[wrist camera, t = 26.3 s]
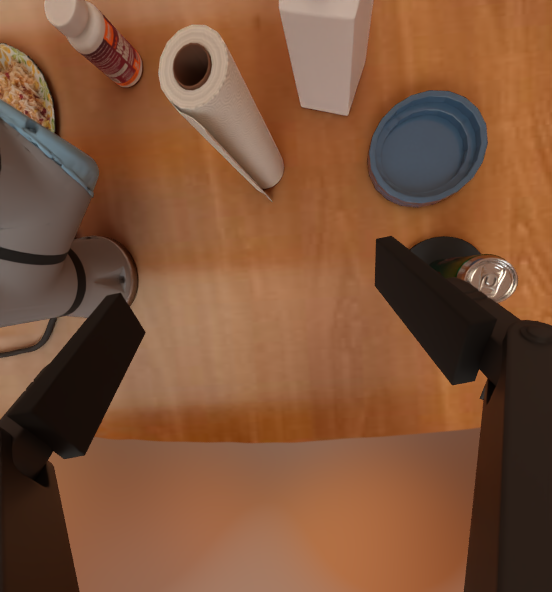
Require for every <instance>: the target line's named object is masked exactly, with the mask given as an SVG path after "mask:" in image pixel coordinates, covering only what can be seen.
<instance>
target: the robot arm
mask: <svg viewBox="0 0 552 592" xmlns="http://www.w3.org/2000/svg"><path fill="white" fill-rule="evenodd" d="M98 176H99V169H98V166H97V164H96V162H95V161H94V160H93V159H92V158H91V157H90V156H89V155H87V154H86V153H84V152H83V151H81V150H80V149H78V148H76V147H75V146H73V145H72V144H70V143H69V142H67V141H66V140H64V139H62V138H61V137H59V136H58V135H56V134H55V133H53V132H52V131H50V130H48V129H47V128H45V127H44V126H42V125H40V124H39V123H37V122H36V121H34V120H33V119H31V118H30V117H28V116H26V115H25V114H23V113H22V112H20V111H19V110H17V109H15V108H14V107H12V106H11V105H9V104H7V103H6V102H4V101H3V100H1V99H0V327H6V326H11V325H17V324H22V323H28V322H33V321H39V320H44V319H50V320H49V323H48V325H47V328H46V331H45V333H44V336H43V337H42V339H41V340H40V341H39V342H38V343H37V344H36V345H34V346H32V347H28V348H24V349H19V350H15V351H11V352H5V353H0V358H1V357H8V356H13V355H17V354H21V353H26V352H31V351H34V350H37V349H38V348H40V347H41V346H42V345H44V344H45V342H46V341H47V340H48V338H49V337H50V335H51V332H52V329H53V327H54V324H55V321H56V319H57V317H61V316H74V317H85V318H87V320H86V321H85V322H84V323H83V324H82V326H81V327H80V328H79V329H78V330H77V332H76V333H75V334H74V335H73V336H72V338H71V339H70V340H69V341H68V342H67V344H66V345H65V346H64V347H63V349H62V350H61V351H60V352H59V353H58V355H57V356H56V357H55V358H54V359H53V361H52V362H51V363H50V364H48V365H47V366H46V367H45V368H44V369H42V371H41V372H40V373H39V374H38V375H37V377H36V378H35V379H34V382H32V383H31V384H30V385H29V386H28V387H27V389H26V391H24V392H23V393H22V394H21V396H20V397H19V398H18V399H17V400H16V402H15V403H14V404H13V405H12V406H11V408H10V409H9V410H8V411H7V412H6V414H5V415H4V416H3V417H2V418H1V419H0V592H79V587H78V582H77V577H76V572H75V568H74V563H73V558H72V553H71V549H70V544H69V539H68V533H67V528H66V523H65V519H64V514H63V509H62V504H61V499H60V494H59V489H58V484H57V479H56V475H55V470H54V466H53V465H52V463H51V462H49V461H48V459H49V457H50V456H51V454H52V452H53V451H54V452H55V453H57V454H58V455H59V456H61V457H62V458H63V459H67V458H73V457H78V456H84V455H85V454H86V452H87V450H88V448H89V445H90V444H91V442H92V440H93V438H94V436H95V434H96V432H97V430H98V428H99V426H100V424H101V421H102V419H103V417H104V415H105V413H106V411H107V409H108V407H109V405H110V403H111V401H112V399H113V397H114V395H115V393H116V391H117V389H118V387H119V385H120V383H121V381H122V379H123V377H124V375H125V373H126V371H127V369H128V367H129V365H130V363H131V361H132V359H133V357H134V355H135V353H136V351H137V349H138V347H139V345H140V343H141V341H142V339H143V337H144V335H145V333H146V332H145V331H144V329H143V328H142V326H141V324H140V323H139V321H138V319H137V318H136V316H135V315H134V313H133V311H132V310H131V308H130V305H131V304H132V302H133V300H134V298H135V295H136V291H137V284H138V278H137V270H136V266H135V264H134V261H133V259H132V257H131V255H130V254H129V252H128V251H127V250H126V249H125V248H124V246H122V245H121V244H120V243H119V242H117V241H115V240H113V239H111V238H107V237H101V236H86V237H82V238H79V239H74V238H75V235H76V233H77V231H78V228H79V226H80V224H81V221H82V219H83V217H84V214H85V212H86V210H87V207H88V205H89V203H90V200H91V198H93V196H94V192H93V191H94V188H95V185H96V182H97V179H98ZM375 287H376V288H377V289H378V290H379V292H380V293H381V294H382V296H383V297H384V298H385V299H386V301H387V302H388V303H389V305H390V306H391V307H392V308H393V310H394V311H395V312H396V314H397V315H398V316H399V317H400V319H401V320H402V321H403V323H404V324H405V325H406V326H407V328H408V329H409V330H410V332H411V333H412V334H413V335H414V337H415V338H416V339H417V341H418V342H419V343H420V344H421V346H422V347H423V348H424V350H425V351H426V352H427V353H428V355H429V356H430V357H431V359H432V360H433V361H434V362H435V364H436V365H437V366H438V368H439V369H440V370H441V371H442V373H443V374H444V375H445V377H446V378H447V379H448V380H449V382H450V383H451V384H452V385H456V384H462V383H467V382H472V381H475V379H476V376H477V373H478V371H479V369H480V370H481V371H482V372H483V374H484V375H485V376H486V377H487V378H488V379H487V382H486V384H485V386H484V389H483V391H482V394H481V396H480V399H482V400H484V402H483V411H482V421H481V432H480V440H479V450H478V461H477V470H476V479H475V489H474V499H473V508H472V519H471V528H470V537H469V547H468V557H467V566H466V577H465V586H464V592H552V326H551V325H549V324H545V323H542V322H538V321H530V320H522V321H521V320H520V319H518V318H517V317H516V316H514V315H513V314H512V313H510V312H509V311H507V310H506V309H505V308H503V307H502V306H500V305H499V304H498V303H496V302H495V301H494V300H492V299H491V298H488V297H487V295H485V294H484V293H483V292H481V291H480V292H479V290H478V289H477V288H476V287H474V286H473V285H471V284H470V283H469V282H466V281H464V280H461V279H459V278H456V277H451V278H444V277H443V276H442V275H441V274H439V273H438V272H437V271H436V270H434V269H433V268H432V267H430V266H429V265H428V264H427V263H425V262H424V261H423V260H422V259H420V258H419V257H418V256H416V255H415V254H414V253H413V252H411V251H410V250H409V249H408V248H406V247H405V246H404V245H402V244H401V243H400V242H399V241H397V240H396V239H395V238H394V237H392V236H388V237H384V238H379V239H376V262H375Z"/></svg>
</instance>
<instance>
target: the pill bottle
mask: <svg viewBox="0 0 552 592" xmlns="http://www.w3.org/2000/svg"><path fill="white" fill-rule="evenodd" d="M44 8H45V14H46V16H47V19H48V20H49V22H50V23H51V24H52V25H53V26H54V27H56V28H57V29H58V30H59V31H60V32H61V33H62V34H64V35H65V36H66V37H67V39H68V41H69V43H70V44H71V45H72V46H73V47H74V48H75V49H76V50H77V51H78V52H79V53H81V54H82V55H83V56H84V57H85V58H87V59H88V60H89V61H90V62H91V63H93V64H94V65H95V66H96V67H97V68H98V69H100V70H101V71H102V72H103V73H104V74H106V75H107V76H108V77H109V78H110V79H111V80H113V81H114V82H115V83H116V84H118V85H119V86H121V87H130V86H132V85H134V84H135V83H136V82H137V81H138V80H139V78H140V76H141V73H142V60H141V57H140V55H139V54H138V52H137V51H136V50H135V49H134V48H133V47H132V45H131V44H130V43H129V42H128V41H127V40H126V39H125V38H124V37H123V36H122V35H121V34H120V32H119V31H118V30H117V29H116V28H115V27H114V26H113V25H112V24H111V23H110V22H109V20H108V19H107V18H106V17H105V16H104V15H103V14H102V13H101V11H100V10H99V9H98V8H97V7H96V6H94V5H93V4H92V3H90V2H87V1H85V0H45V5H44Z"/></svg>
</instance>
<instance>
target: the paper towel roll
mask: <svg viewBox="0 0 552 592" xmlns="http://www.w3.org/2000/svg"><path fill="white" fill-rule="evenodd" d="M158 74H159V79H160V85H161V89H162V91H163V92H164V93H165V95H166V96H167V98H168V99H169V101H170V102H171V103H172V105H173V106H174V107H175V108H176V109H177V111H178V112H179V113H180V114H181V115H182V116H183V117H184V118H185V119H186V120H187V121H188V122H189V123H190V124H191V125H192V126H193V127H194V128H195V129H196V130H197V131H198V132H199V133H200V134H201V135H202V136H203V137H204V138H205V139H206V140H207V141H208V142H209V143H210V144H211V145H212V146H213V147H214V148H215V149H216V150H217V151H218V152H219V153H220V154H221V155H222V156H223V157H224V158H225V159H226V160H227V161H228V162H229V163H230V164H231V165H232V166H233V167H234V168H235V169H236V170H237V171H238V172H239V173H240V174H241V175H242V176H243V177H244V178H245V179H247V180H248V181H249V182H250V183H251V184H252V185H253V186H254V187H255V188H256V189H257V190H258V191H260V192H261V193H263V194H265V195H266V196H267V197H268V199H269V200H270V201H271V202H272V200H271V199H270V197H269V196H268V195H267V194H266V193H265V192H264V191H263V190H262V189H267V188H270V187H273V186H274V185H275V184H277V183H278V182H279V180H280V179H281V177H282V175H283V171H284V163H283V158H282V156H281V154H280V152H279V150H278V148H277V146H276V144H275V142H274V140H273V138H272V136H271V134H270V132H269V130H268V128H267V126H266V124H265V122H264V120H263V118H262V116H261V114H260V112H259V110H258V108H257V106H256V104H255V102H254V100H253V98H252V96H251V94H250V92H249V90H248V88H247V86H246V84H245V82H244V80H243V78H242V76H241V74H240V72H239V70H238V68H237V66H236V64H235V62H234V60H233V58H232V56H231V54H230V52H229V50H228V48H227V46H226V44H225V42H224V41H223V39H222V38H221V36H220V35H219V33H218V32H217V31H215V30H213V29H211V28H210V27H208V26H206V25H190V26H188V27H185V28H183V29H181V30H179V31H178V32H177V33H176V34H175V35H174V36H173V37H172V38H171V39H170V40H169V41H168V42H167V44H166V46H165V48H164V51H163V53H162V55H161V57H160V64H159V72H158ZM261 188H262V189H261Z"/></svg>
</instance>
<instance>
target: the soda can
mask: <svg viewBox="0 0 552 592" xmlns="http://www.w3.org/2000/svg"><path fill="white" fill-rule="evenodd" d="M429 266H430V267H432V268H433V269H434V270H436V271H437V272H438V273H439V274H441V275H442V276H443V277H444V278H451V277H456V278H459V279H461V280H464V281H466V282H469V283H470V284H471V285H473V286H474V287H476V288H477V289H478V290H479V292H480V291H481V292H483V293H484V294H485V295H487V297H488V298H491V299H492V300H494V301H495V302H496V303H500V302H502V301H504V300H506V299H507V298H509V297H510V296H511V295H512V294H513V293H514V291H515V289H516V287H517V284H518V275H517V272H516V270H515V268H514V267H513V266H512V265H511V264H510V263H509V262H507V261H506V260H505V259H503V258H501V257H499V256H496V255H492V254H481V255H472V256H463V257H455V258H446V259H439V260H436V261H434V262H432V263H430V264H429Z"/></svg>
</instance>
